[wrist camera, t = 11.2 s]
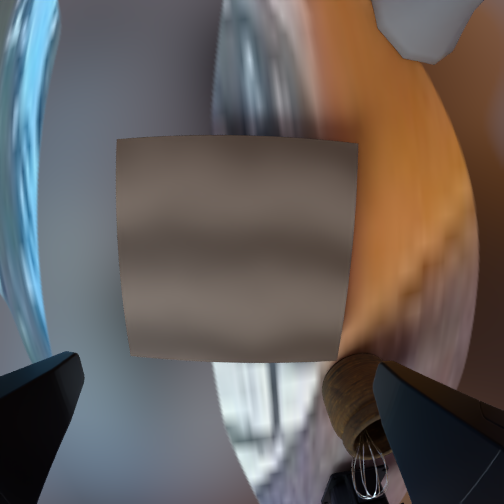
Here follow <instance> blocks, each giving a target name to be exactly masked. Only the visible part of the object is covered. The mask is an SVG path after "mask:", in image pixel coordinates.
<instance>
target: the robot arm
mask: <svg viewBox="0 0 504 504" xmlns="http://www.w3.org/2000/svg"><path fill="white" fill-rule="evenodd" d="M83 384H84V372H83V368H82V365H81V361H80V357H79V355H78V354H77V353H74V352H69V351H65V352H62V353H60V354H57V355H55V356H52V357H50V358H47V359H45V360H42V361H39V362H37V363H34V364H32V365H29V366H26V367H24V368H21V369H19V370H16V371H13V372H11V373H8V374H5V375H3V376H0V504H37V502H38V499H39V496H40V494H41V491H42V489H43V486H44V483H45V481H46V478H47V476H48V473H49V471H50V468H51V466H52V463H53V461H54V459H55V456H56V453H57V451H58V449H59V447H60V444H61V442H62V440H63V437H64V435H65V433H66V431H67V428H68V426H69V424H70V422H71V419H72V416H73V414H74V410H75V407H76V404H77V401H78V398H79V395H80V393H81V389H82V387H83ZM373 392H374V396H375V400H376V403H377V407H378V410H379V414H380V418H381V421H382V425H383V428H384V431H385V434H386V437H387V439H388V442H389V444H390V447H391V449H392V452H393V454H394V457H395V459H396V462H397V464H398V467H399V470H400V472H401V475H402V478H403V480H404V483H405V486H406V488H407V491H408V493H409V496H410V499H411V502H412V504H504V411H503V410H501V409H498V408H496V407H493V406H491V405H488V404H486V403H484V402H482V401H480V402H479V400H477V399H475V398H472V397H470V396H468V395H466V394H463V393H461V392H459V391H457V390H455V389H452V388H450V387H448V386H446V385H444V384H441V383H439V382H437V381H435V380H433V379H430V378H428V377H426V376H424V375H422V374H420V373H418V372H415V371H413V370H411V369H409V368H407V367H405V366H403V365H401V364H399V363H396V362H394V361H383V362H380V363H379V364H378V367H377V371H376V375H375V378H374V382H373ZM376 468H377V471H376V470H375V467H370V468H365V469H359V470H353V478H352V471H347V472H340V473H334V474H332V475H331V476H330V479H329V481H328V484H327V487H326V489H325V492H324V495H323V497H322V500H321V503H322V504H389V502H388V500H387V497H386V495H385V492H384V490H383V487H382V485H381V481H382V479H383V477H384V475H385V474H386V469H387V470H388V466H387V465H386V467H385V465H380V466H376ZM361 470H362V475H361ZM376 472H378V476H377V479H376ZM364 474H365V480H364ZM362 476H363V481H362ZM354 477H355V483H354V484H353V479H354ZM378 478H379V483H378ZM363 482H364V485H365V482H366V487H364V485H363ZM376 483H377V490H376ZM354 485H356V490H357V491H358V492H359V493H360V494H361V495H363V496H366V497H363V496H361V495H360V494H359V493H358V492H357V493H358V494H357V493H356V490H355V488H354ZM379 486H380V492H381V491H382V490H383V491H382V492H381V493H380V494H379ZM365 488H366V489H367V492H368V493H369V494H370V495H371V496H372V497H373V496H374V494H375V496H376V495H377V496H378V494H379V495H380V496H378V497H377V498H372V499H371V498H370V499H363V498H367V497H371V496H370V495H369V494H368V493H366V489H365ZM375 491H376V493H375ZM383 492H384V493H383ZM382 493H383V494H382ZM367 494H368V496H367ZM381 494H382V495H381ZM358 495H359V496H361V497H362V498H361V497H359V496H358ZM401 504H404V503H401Z"/></svg>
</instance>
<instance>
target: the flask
mask: <svg viewBox="0 0 504 504" xmlns="http://www.w3.org/2000/svg"><path fill="white" fill-rule="evenodd" d="M371 1H372V5H373V9H374V14H375V18H376V23H377V27H378V29H379V30H380V32H381V33H382V34H383V35H384V36H385V37H386V38H387V39H388V41H389V42H390V43H391V44H392V45H393V46H394V48H395V49H396V50H397V51H398V52H399V54H400V55H401V56H402V57H403V58H404V59H410V60H414V61H419V62H424V63H428V64H433V65H435V64H436V63H437V62H439V61H440V60H441V59H443V58H444V57H446V56H447V55H448V54H450V53H451V52H452V51H453V49H454V48H455V46H456V44H457V42H458V40H459V38H460V36H461V34H462V31H463V30H464V28H465V26H466V24H467V23H468V21H469V19H470V17H471V15H472V14H473V12H474V10H475V9H476V8H477V7H478V6H479V5H480V4H481V3H482V2H483V1H484V0H371Z"/></svg>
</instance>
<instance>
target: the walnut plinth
mask: <svg viewBox="0 0 504 504" xmlns="http://www.w3.org/2000/svg"><path fill="white" fill-rule="evenodd" d="M116 150H117V151H116V213H117V214H116V215H117V238H118V254H119V266H120V278H121V288H122V297H123V306H124V314H125V321H126V328H127V336H128V342H129V348H130V354H131V356H137V357H147V358H158V359H171V360H186V361H205V362H234V363H289V362H318V361H337V356H338V350H339V345H340V339H341V332H342V326H343V319H344V313H345V305H346V298H347V290H348V282H349V274H350V265H351V255H352V245H353V234H354V222H355V208H356V192H357V170H358V144H357V143H348V142H339V141H329V140H318V139H306V138H291V137H273V136H247V135H189V136H160V137H142V138H128V139H117V149H116Z"/></svg>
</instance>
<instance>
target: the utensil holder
mask: <svg viewBox="0 0 504 504" xmlns="http://www.w3.org/2000/svg"><path fill="white" fill-rule="evenodd" d="M380 362H383V360H382V359H381V358H379V357H377V356H375V355H372V354H356V355H352V356H349V357H347V358H345V359H343V360H341V361H340V362H338V363H337V364H336V365H335V366H333V367H332V368H331V370H330V371H329V372H328V373H327V375H326V377H325V379H324V382H323V386H322V395H323V400H324V403H325V406H326V409H327V412H328V415H329V418H330V421H331V424H332V426H333V428H334V430H335V432H336V434H337V435H338V436H339V437H340V438H341V439H342V440H343V444H344V446H345V448H346V450H347V451H348V453H349V454H350V455H351V456H352V457H353V459H354V458H356V459H360V460H363V468H364V460H372V459H373V460H374V463H375V459H377V458H380V457H383V458H384V456H385V455H388V454H390V453H392V449H391V447H390V444H389V442H388V439H387V437H386V434H385V431H384V428H383V425H382V421H381V418H380V414H379V410H378V407H377V403H376V400H375V396H374V392H373V382H374V378H375V375H376V371H377V367H378V364H379V363H380ZM383 458H382V459H383ZM356 459H355V462H356ZM383 461H384V464H385V467H386V463H385V459H384V460H383ZM352 465H353V460H352ZM360 468H361V461H360ZM354 469H355V464H354ZM375 470H376V471H377V468H376V464H375ZM386 474H387V469H386ZM361 475H362V470H361ZM377 476H378V472H376V479H377ZM352 478H353V471H352ZM364 480H365V474H364ZM362 481H363V476H362ZM387 481H388V475H387ZM387 481H386V484H387ZM354 483H355V477H354V479H353V484H354ZM378 483H379V478H378ZM386 484H385V486H386ZM363 485H364V482H363ZM364 487H366V482H365V485H364ZM387 487H388V484H387ZM354 488H355V490H356V485H354ZM384 488H385V487H384ZM384 488H383V490H384ZM365 489H366V488H365ZM386 489H387V488H386ZM376 490H377V483H376ZM383 490H382V491H383ZM382 491H381V492H382ZM385 491H386V490H385ZM385 491H384V492H385ZM357 492H358V491H357V490H356V493H357ZM381 492H380V486H379V494H380V493H381ZM384 492H383V493H384ZM358 493H359V492H358ZM358 493H357V494H358ZM366 493H368V492H367V489H366ZM375 493H376V491H375ZM383 493H382V494H383ZM359 494H360V493H359ZM368 494H369V493H368ZM368 494H367V496H368ZM379 494H378V496H380V495H379ZM382 494H381V495H382ZM360 495H361V494H360ZM369 495H370V494H369ZM358 496H359V495H358ZM361 496H363V495H361ZM361 496H359V497H361ZM370 496H371V495H370ZM378 496H377V495H376V496H375V494H374V496H373V497H372V496H371V497H367V498H363V499H370V498H371V499H372V498H377V497H378ZM363 497H366V496H363ZM361 498H362V497H361Z"/></svg>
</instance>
